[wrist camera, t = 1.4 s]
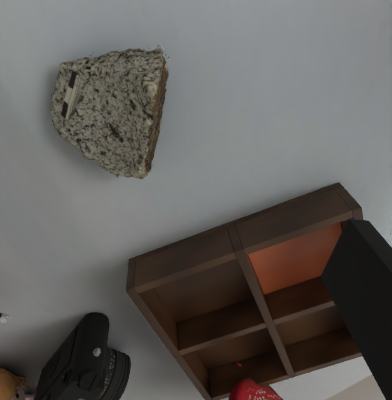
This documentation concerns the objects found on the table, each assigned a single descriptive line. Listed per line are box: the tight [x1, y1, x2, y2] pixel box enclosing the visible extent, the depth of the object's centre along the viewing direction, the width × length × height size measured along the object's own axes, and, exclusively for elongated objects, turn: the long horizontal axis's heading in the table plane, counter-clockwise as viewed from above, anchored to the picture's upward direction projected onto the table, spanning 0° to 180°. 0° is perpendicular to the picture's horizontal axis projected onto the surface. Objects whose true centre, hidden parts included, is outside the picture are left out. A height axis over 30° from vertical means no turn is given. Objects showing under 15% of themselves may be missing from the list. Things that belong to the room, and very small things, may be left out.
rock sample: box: [49, 44, 169, 179], centre depth 25 cm, size 10×8×9 cm
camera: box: [34, 313, 131, 400], centre depth 38 cm, size 14×7×8 cm, turn 144°
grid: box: [126, 183, 363, 400], centre depth 37 cm, size 21×21×4 cm
